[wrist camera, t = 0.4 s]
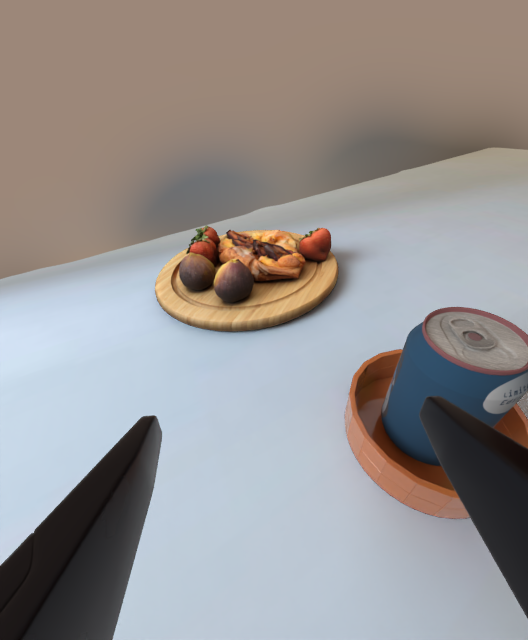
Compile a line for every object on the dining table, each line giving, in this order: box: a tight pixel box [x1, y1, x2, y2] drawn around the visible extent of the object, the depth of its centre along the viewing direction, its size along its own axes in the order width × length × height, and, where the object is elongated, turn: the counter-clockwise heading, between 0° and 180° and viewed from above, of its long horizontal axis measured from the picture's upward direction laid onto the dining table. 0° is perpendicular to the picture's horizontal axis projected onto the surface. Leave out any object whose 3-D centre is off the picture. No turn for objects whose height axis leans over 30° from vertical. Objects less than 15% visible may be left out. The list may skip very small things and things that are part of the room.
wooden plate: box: [155, 226, 339, 331], centre depth 46 cm, size 32×32×8 cm
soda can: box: [381, 307, 528, 466], centre depth 20 cm, size 7×7×12 cm
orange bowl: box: [345, 349, 528, 519], centre depth 23 cm, size 13×13×4 cm
